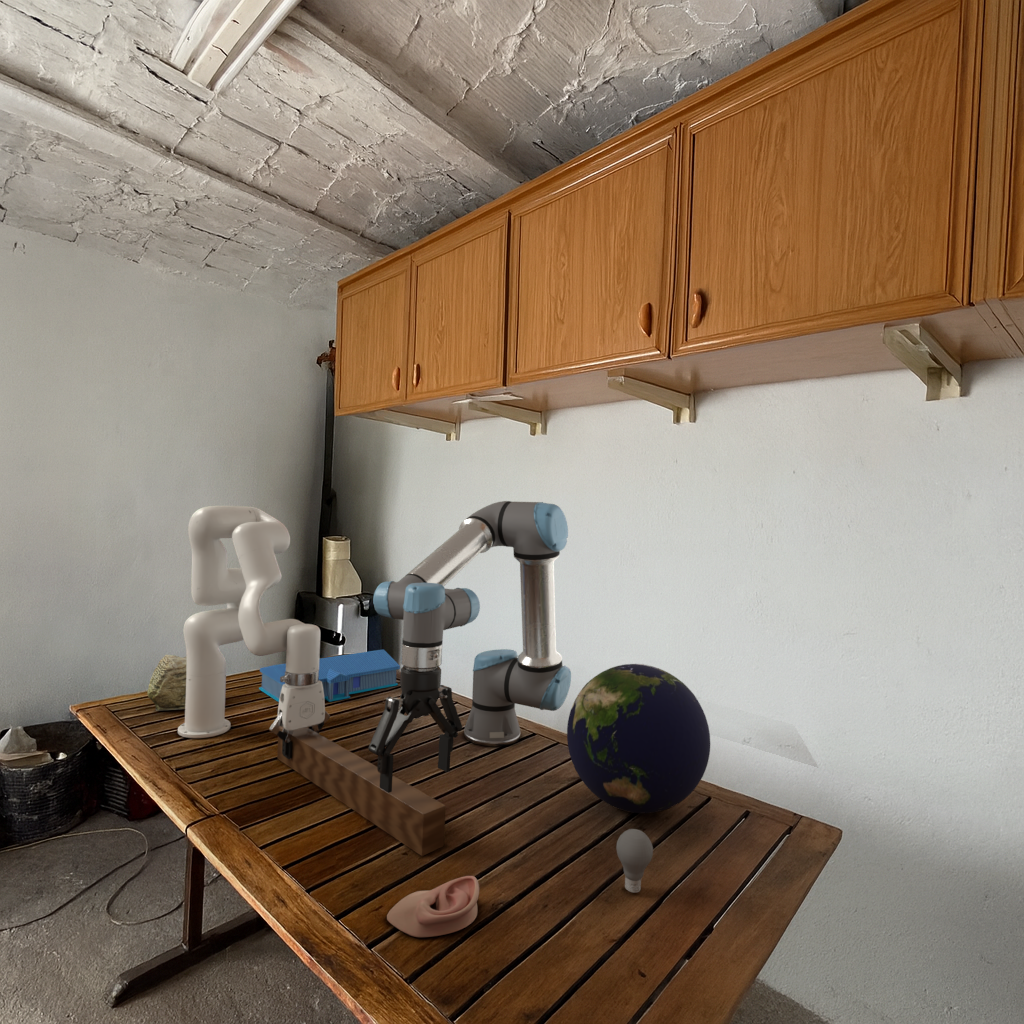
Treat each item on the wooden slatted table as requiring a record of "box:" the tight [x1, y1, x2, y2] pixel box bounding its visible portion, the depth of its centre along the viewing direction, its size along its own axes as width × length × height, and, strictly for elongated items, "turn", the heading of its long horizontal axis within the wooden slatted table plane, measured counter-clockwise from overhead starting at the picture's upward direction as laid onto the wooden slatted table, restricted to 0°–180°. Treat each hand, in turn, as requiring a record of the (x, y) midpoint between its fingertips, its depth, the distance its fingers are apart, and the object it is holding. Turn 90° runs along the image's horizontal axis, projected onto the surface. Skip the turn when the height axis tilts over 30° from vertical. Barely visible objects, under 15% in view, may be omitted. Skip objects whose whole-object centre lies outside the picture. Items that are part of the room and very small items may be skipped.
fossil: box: [147, 654, 187, 712], centre depth 185 cm, size 9×18×15 cm, turn 132°
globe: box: [566, 663, 711, 814], centre depth 135 cm, size 30×30×30 cm
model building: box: [258, 649, 401, 703], centre depth 208 cm, size 39×24×10 cm, turn 132°
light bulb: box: [615, 828, 654, 894], centre depth 106 cm, size 6×6×10 cm
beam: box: [276, 726, 446, 857], centre depth 134 cm, size 56×5×8 cm, turn 46°
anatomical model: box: [386, 875, 480, 938], centre depth 98 cm, size 13×4×12 cm
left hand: (299, 753), depth 150 cm, fingers closed on beam, 5 cm apart
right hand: (415, 779), depth 119 cm, fingers open, 13 cm apart
